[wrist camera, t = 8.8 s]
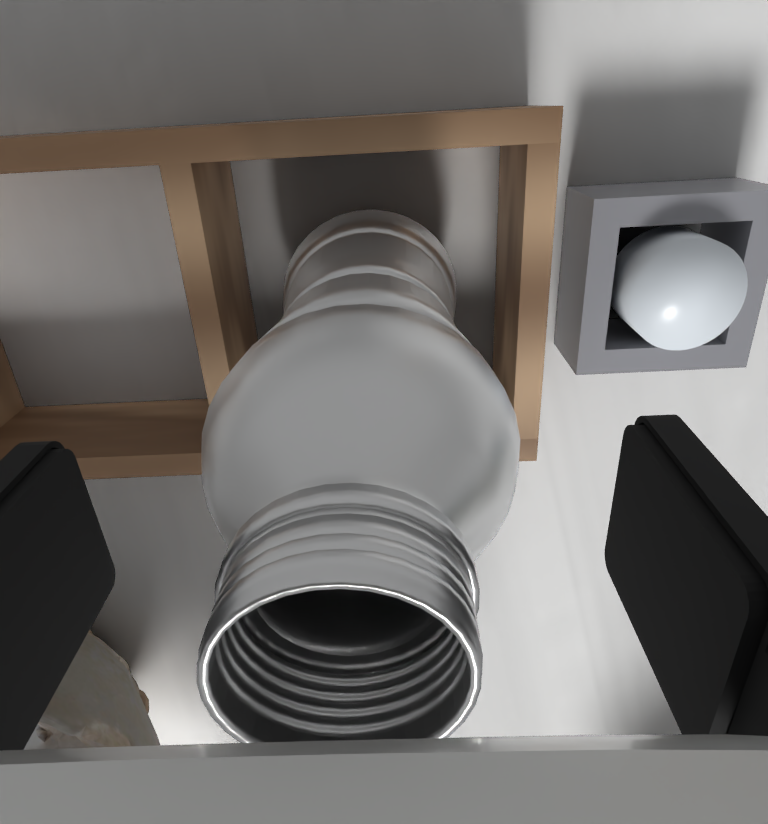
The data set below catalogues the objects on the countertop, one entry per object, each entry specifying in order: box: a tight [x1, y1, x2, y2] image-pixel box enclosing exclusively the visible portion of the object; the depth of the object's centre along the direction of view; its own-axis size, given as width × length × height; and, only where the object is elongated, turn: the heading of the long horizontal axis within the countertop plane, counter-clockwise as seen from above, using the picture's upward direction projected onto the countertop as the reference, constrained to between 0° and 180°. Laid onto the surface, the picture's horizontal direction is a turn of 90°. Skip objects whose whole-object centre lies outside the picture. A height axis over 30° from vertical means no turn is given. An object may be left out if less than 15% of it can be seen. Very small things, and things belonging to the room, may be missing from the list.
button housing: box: [554, 178, 768, 375], centre depth 24 cm, size 7×7×4 cm
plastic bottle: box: [197, 209, 520, 743], centre depth 17 cm, size 6×7×20 cm
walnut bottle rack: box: [0, 106, 563, 479], centre depth 23 cm, size 12×24×5 cm, turn 93°
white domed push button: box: [611, 226, 748, 350], centre depth 22 cm, size 4×4×2 cm
